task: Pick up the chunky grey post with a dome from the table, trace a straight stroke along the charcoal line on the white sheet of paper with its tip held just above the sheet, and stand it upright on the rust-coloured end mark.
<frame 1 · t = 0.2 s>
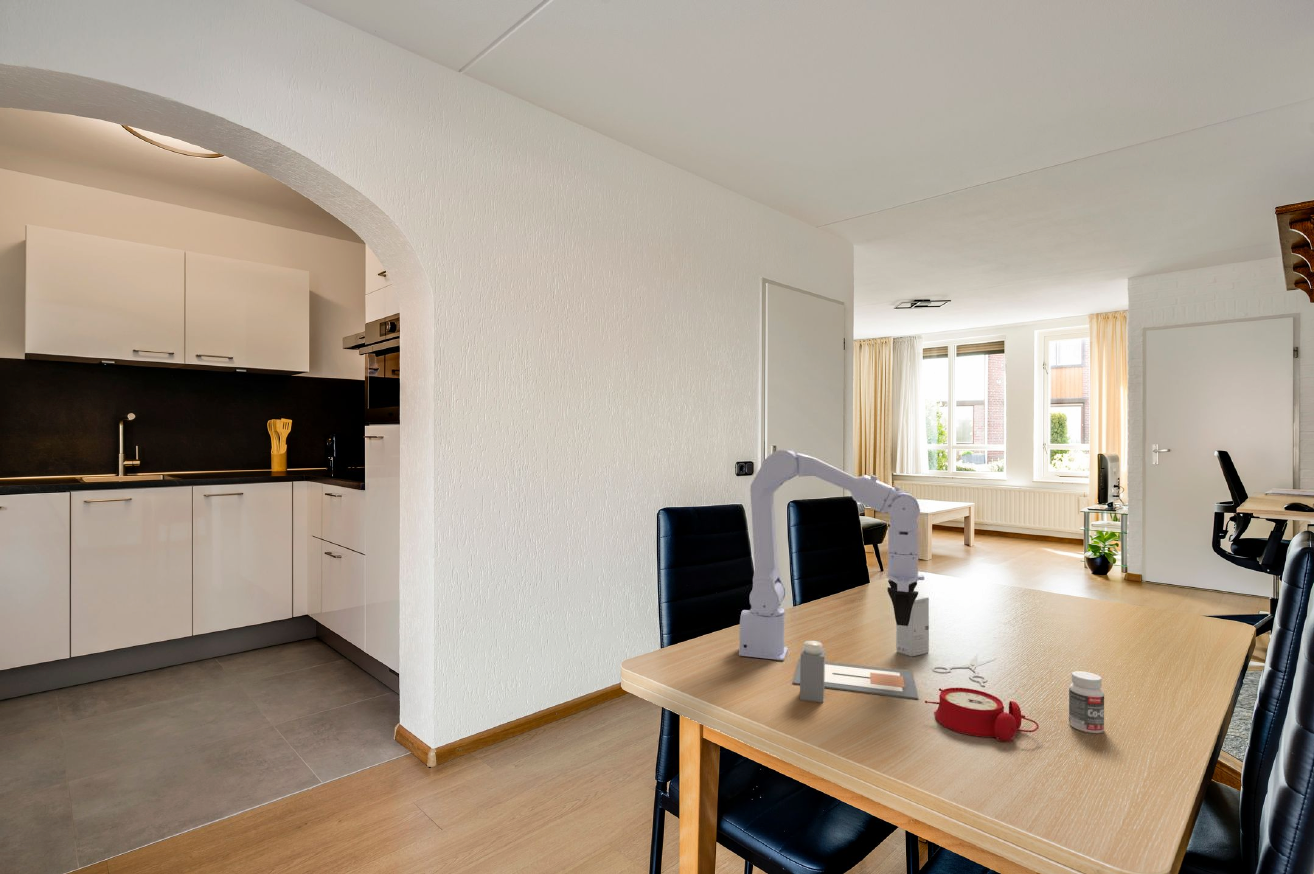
hand: (902, 620, 129), 10 cm above the table, tool pointing down, fingers open, 7 cm apart
skincare box: (912, 652, 140), on the table
scissors: (972, 670, 131), on the table
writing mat: (854, 678, 124), on the table
pill bottle: (1086, 728, 103), on the table
alarm clock: (982, 728, 104), on the table
grey post with dome: (812, 696, 115), on the table
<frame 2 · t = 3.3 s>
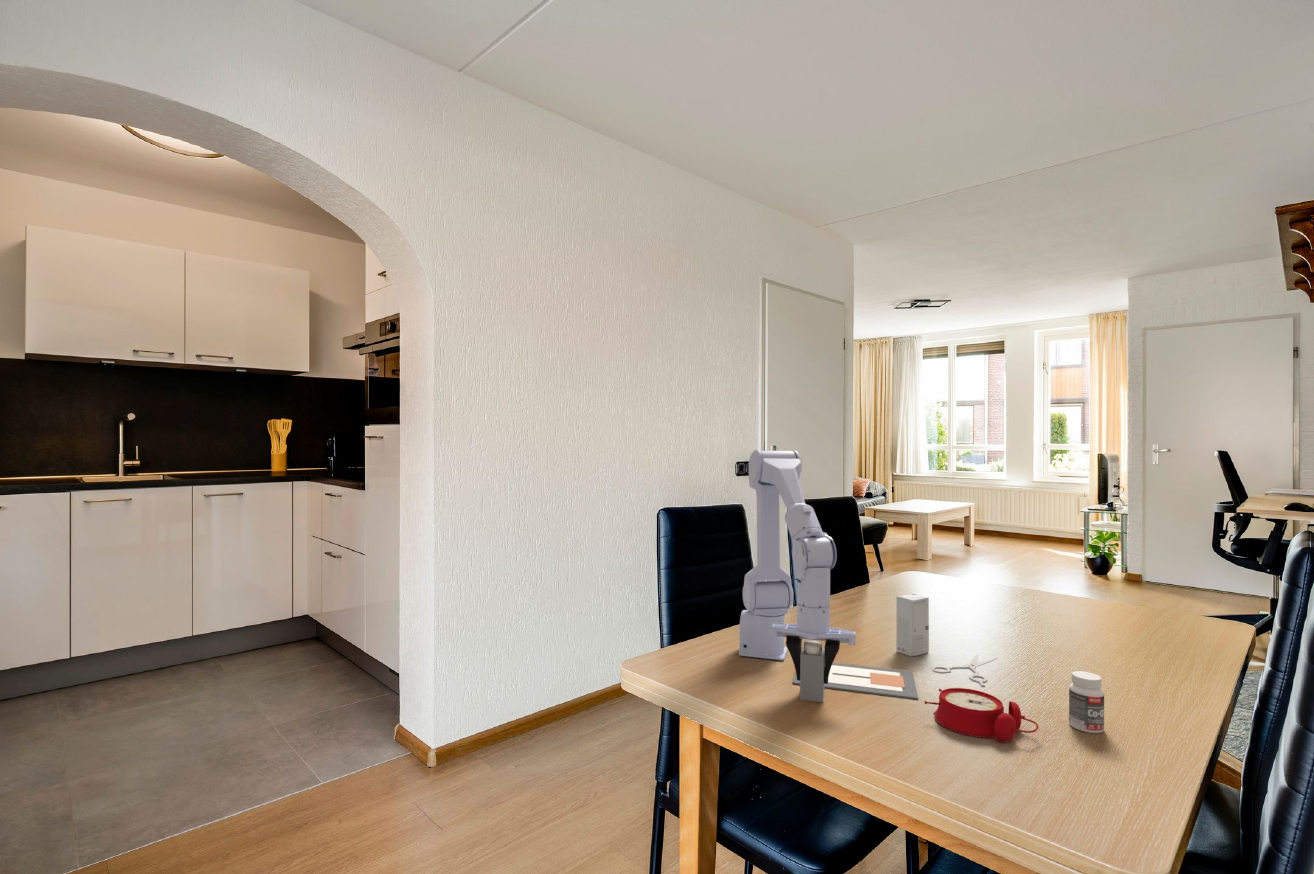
hand: (812, 680, 115), 3 cm above the table, tool pointing down, fingers closed on grey post with dome, 4 cm apart
grey post with dome: (812, 696, 115), on the table, touching gripper
everything else where it was.
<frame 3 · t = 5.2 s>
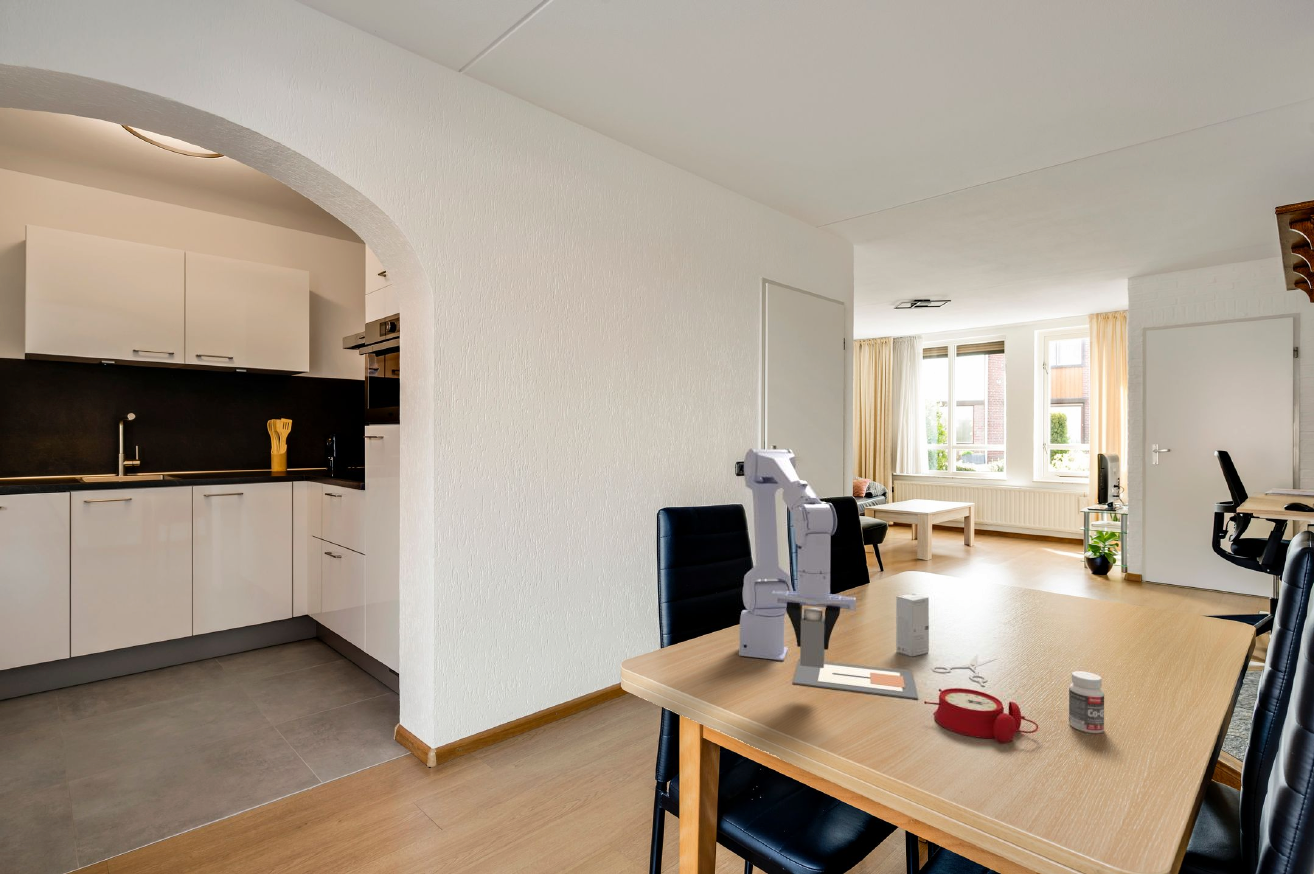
hand: (812, 646, 115), 9 cm above the table, tool pointing down, fingers closed on grey post with dome, 4 cm apart
grey post with dome: (812, 663, 115), point 6 cm above the table, touching gripper
everything else where it was.
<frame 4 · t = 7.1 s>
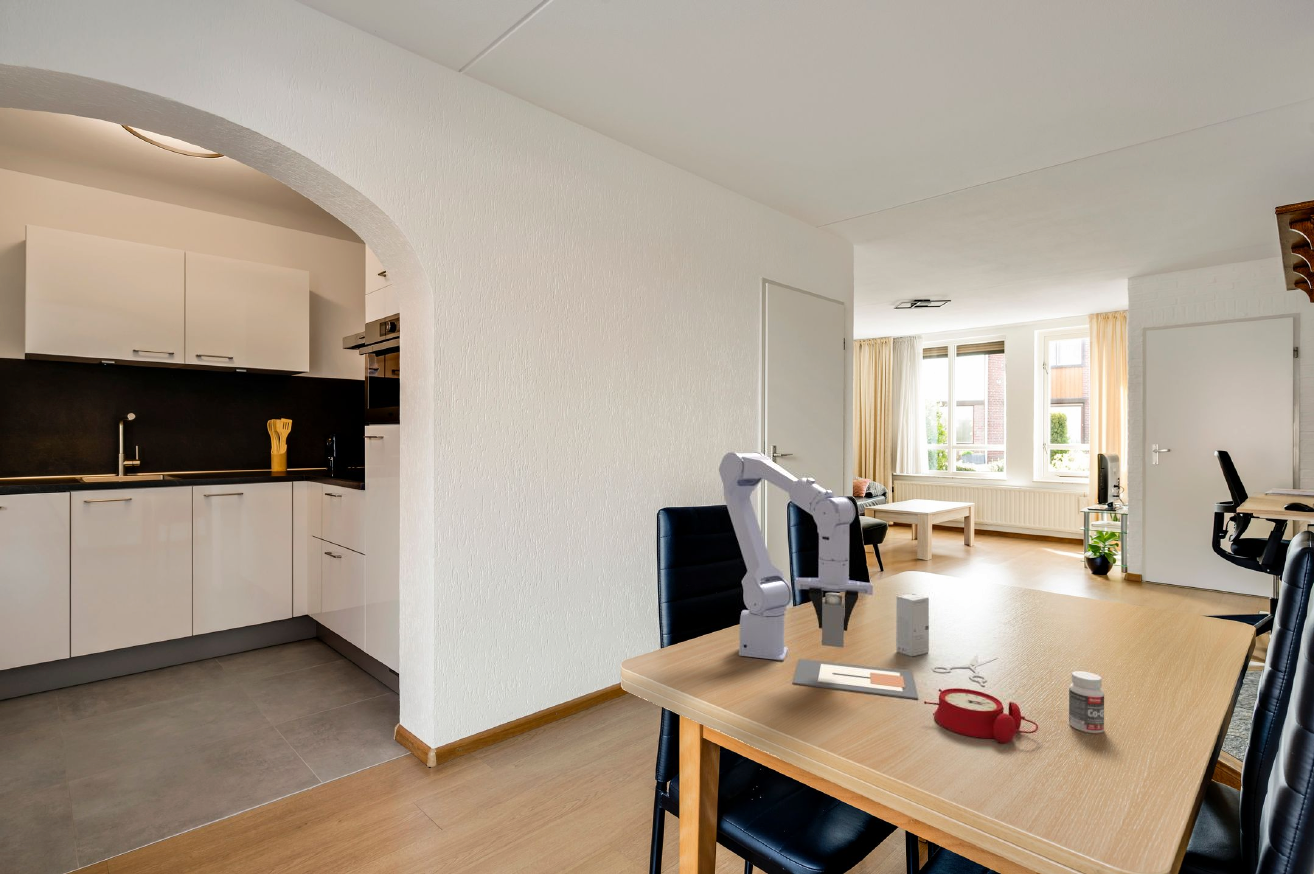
hand: (833, 628, 125), 9 cm above the table, tool pointing down, fingers closed on grey post with dome, 4 cm apart
grey post with dome: (833, 643, 125), point 6 cm above the table, touching gripper
everything else where it was.
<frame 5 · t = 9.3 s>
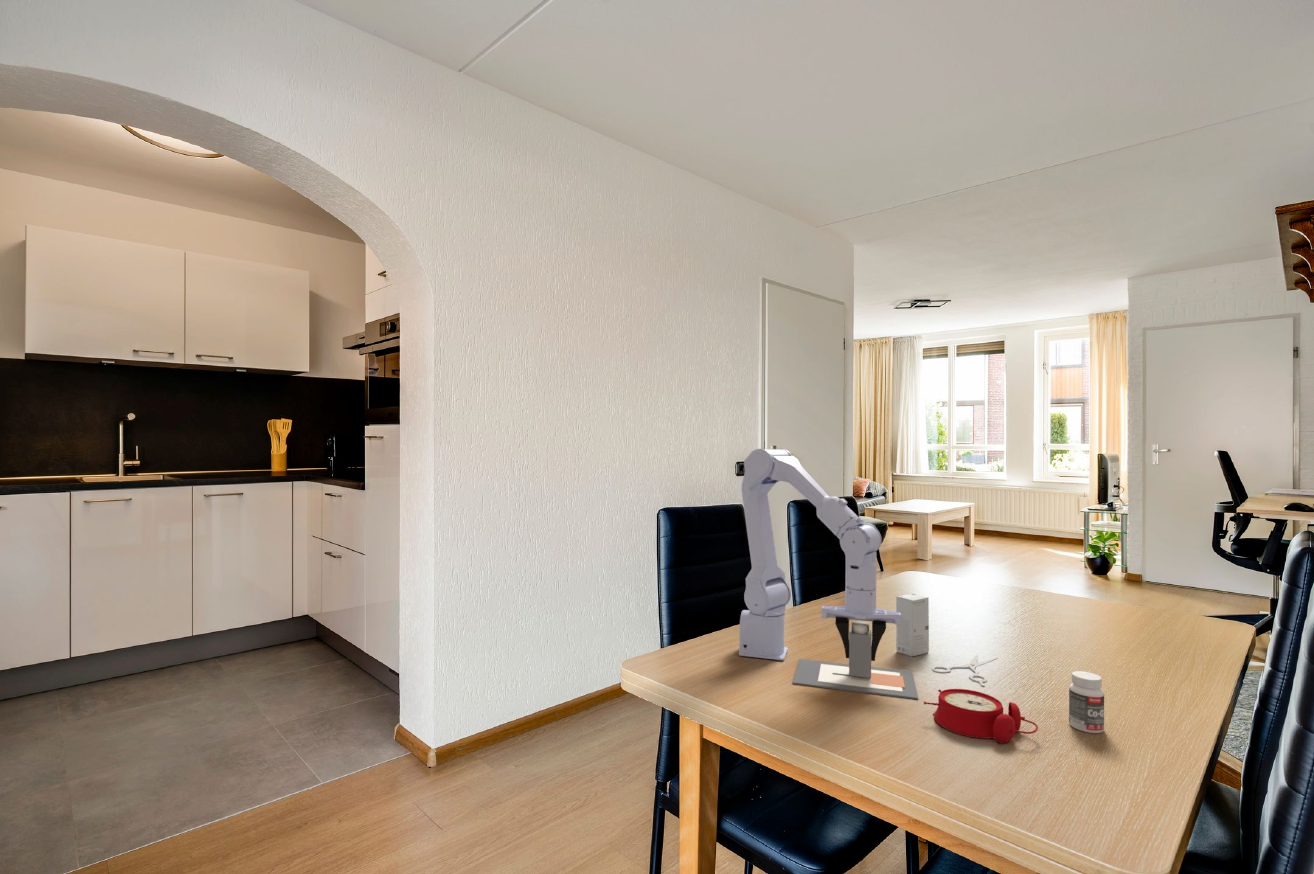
hand: (860, 657, 124), 4 cm above the table, tool pointing down, fingers closed on grey post with dome, 4 cm apart
grey post with dome: (860, 673, 124), point 1 cm above the table, touching gripper
everything else where it was.
when the fingers open (4 cm above the table, at t = 11.3 s): grey post with dome stays where it is, resting on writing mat.
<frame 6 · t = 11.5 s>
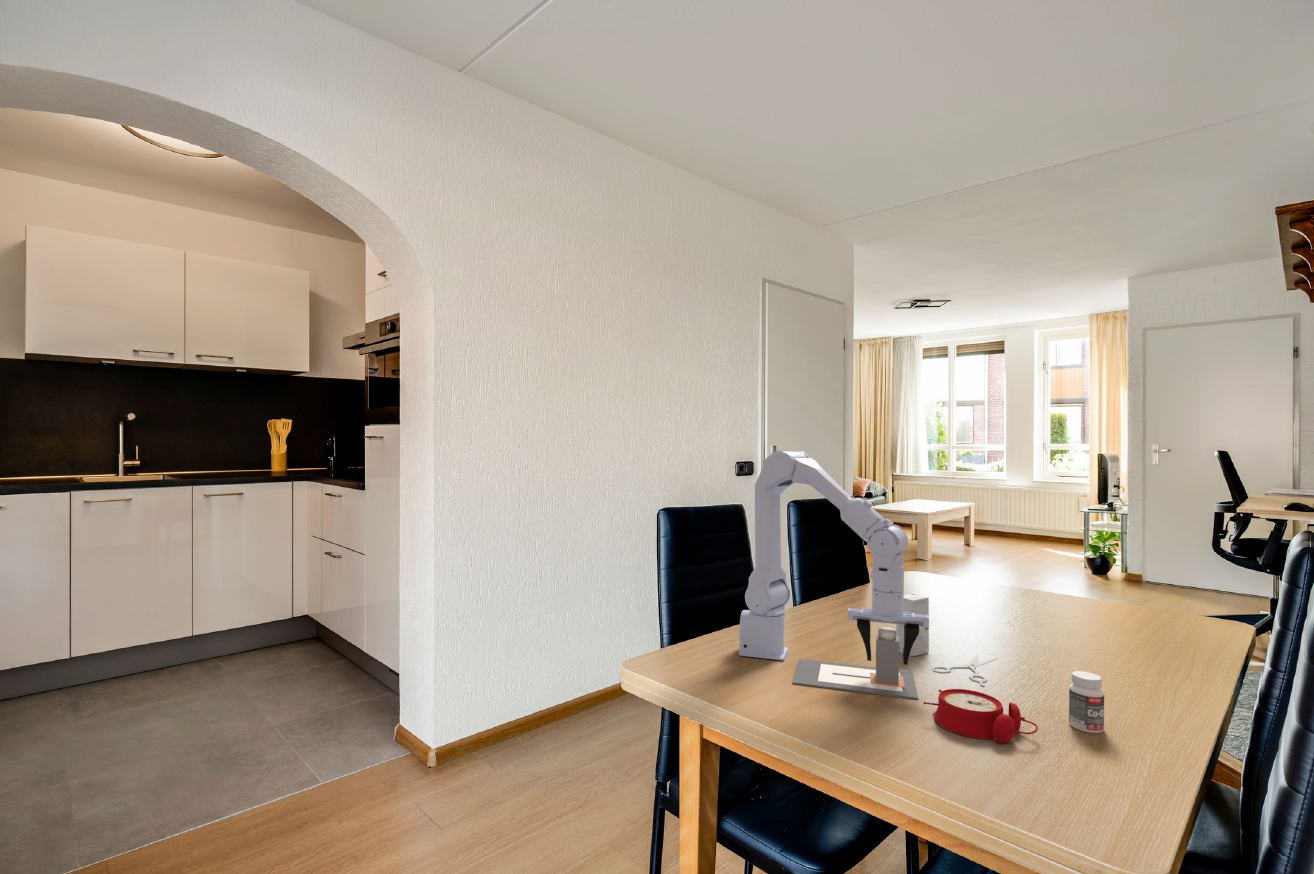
hand: (887, 661, 122), 4 cm above the table, tool pointing down, fingers open, 6 cm apart
grey post with dome: (886, 679, 122), resting on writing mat
everything else where it was.
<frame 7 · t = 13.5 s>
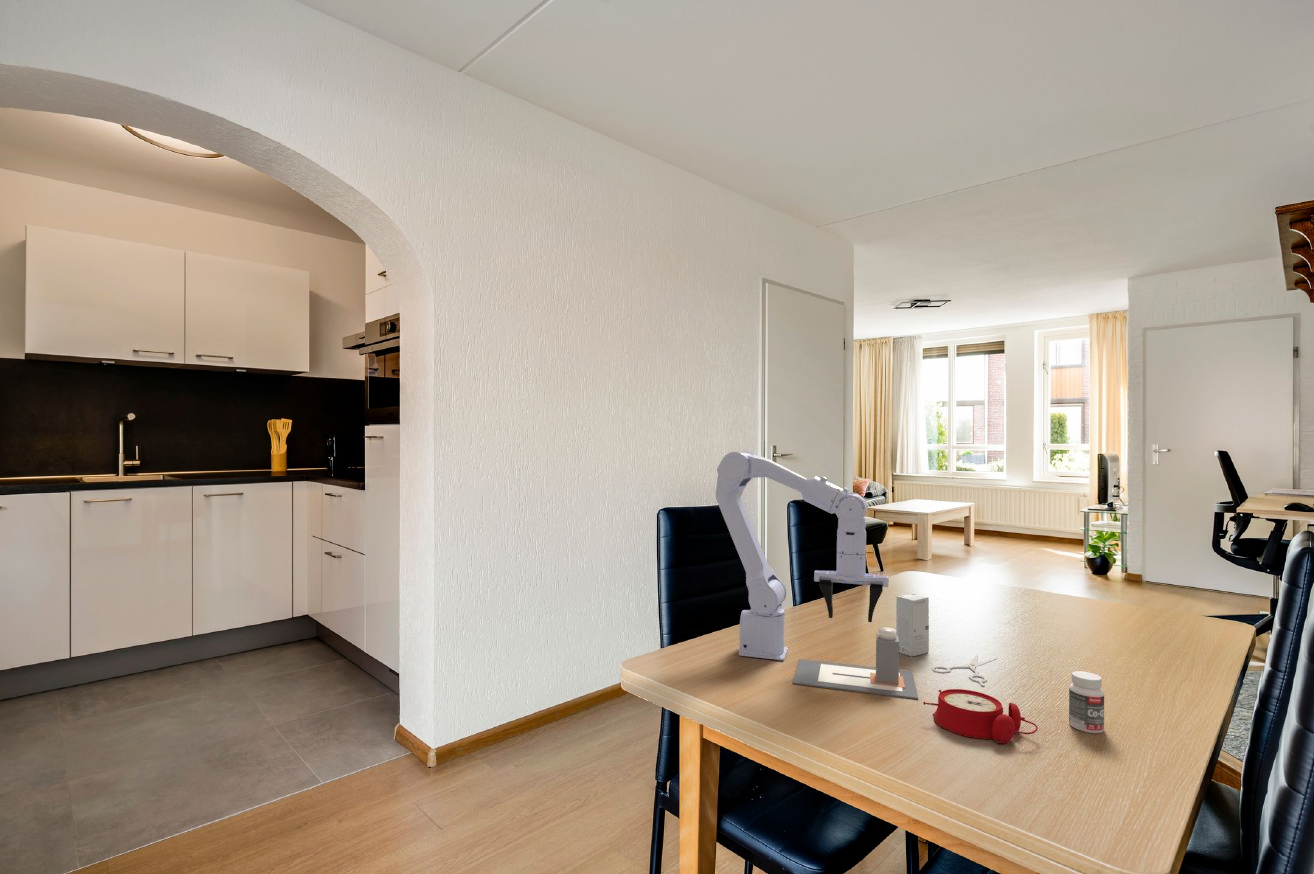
hand: (850, 618, 131), 9 cm above the table, tool pointing down, fingers open, 7 cm apart
nothing on the table moved.
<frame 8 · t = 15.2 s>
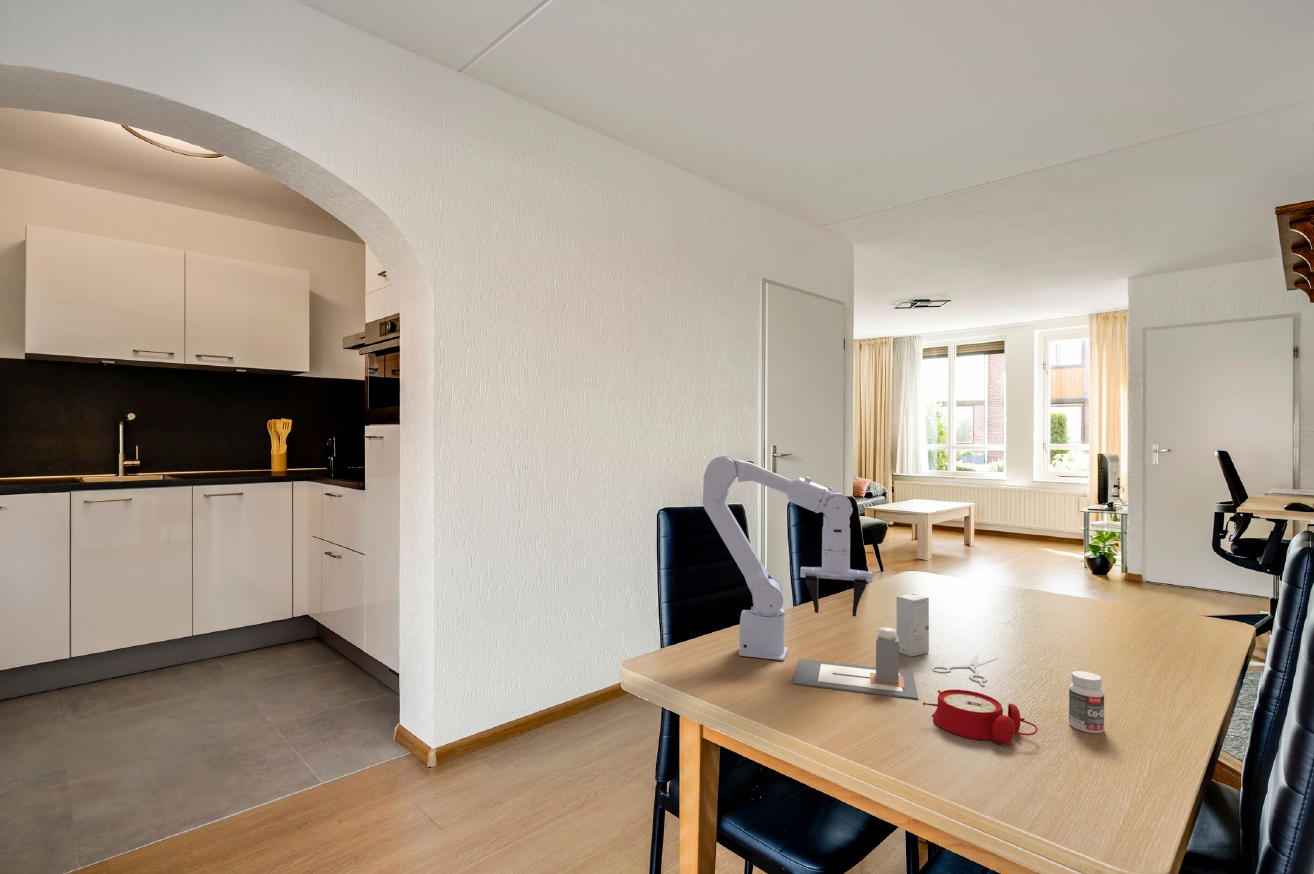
hand: (835, 613, 136), 9 cm above the table, tool pointing down, fingers open, 7 cm apart
at the end: grey post with dome 0.0 cm from the target spot, point 0.5 cm above the table; grey post with dome tilted 0°; the gripper is holding nothing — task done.
